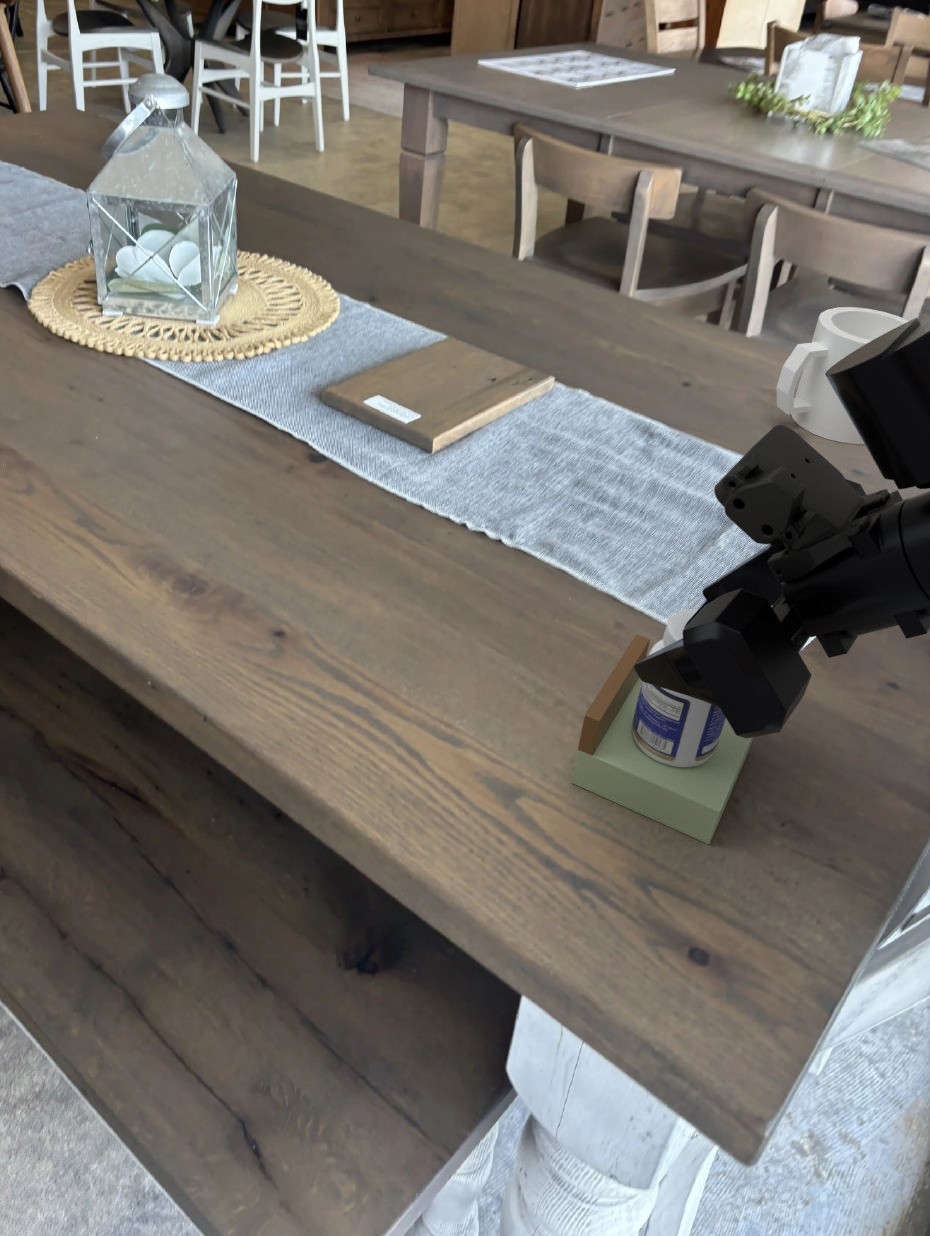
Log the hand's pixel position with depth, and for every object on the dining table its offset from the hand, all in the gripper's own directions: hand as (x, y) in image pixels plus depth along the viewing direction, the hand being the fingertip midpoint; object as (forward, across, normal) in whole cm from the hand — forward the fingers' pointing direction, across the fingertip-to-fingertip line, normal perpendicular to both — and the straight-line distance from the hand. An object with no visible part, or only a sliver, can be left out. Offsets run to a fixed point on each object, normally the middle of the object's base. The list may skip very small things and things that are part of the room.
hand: (674, 632), depth 59 cm
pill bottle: (+4, 0, +7) cm, 8 cm away
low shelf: (+6, 0, +8) cm, 11 cm away
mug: (+12, -57, +3) cm, 58 cm away
